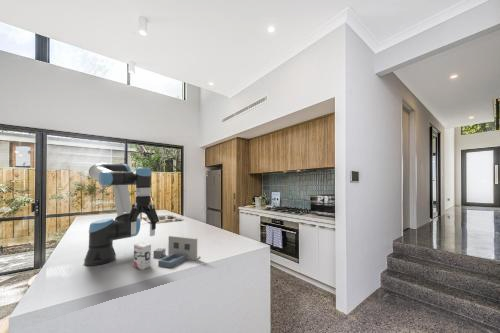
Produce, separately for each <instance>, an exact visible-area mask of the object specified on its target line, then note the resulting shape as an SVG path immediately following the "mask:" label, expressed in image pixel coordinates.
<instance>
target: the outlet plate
mask: <svg viewBox="0 0 500 333" xmlns="http://www.w3.org/2000/svg"><path fill="white" fill-rule="evenodd" d="M167 244H168V246H167V247H168V248H167V250H168V253H167V254H168V255H167V256H169V255H172V254H174V253H176V254H183V255H186V260H192V261H197V260H199V259H200V258H201V255H200V256H199V255H198V238H196V237H186V236H175V235H168V243H167Z"/></svg>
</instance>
